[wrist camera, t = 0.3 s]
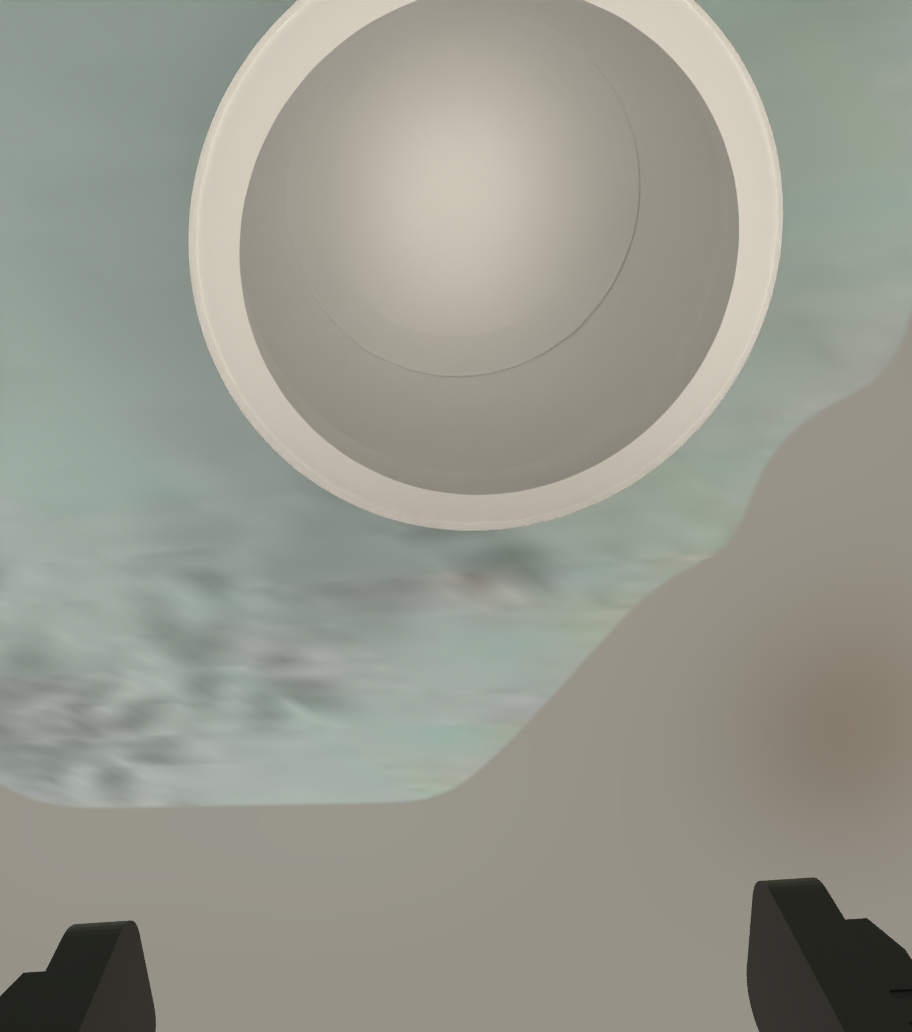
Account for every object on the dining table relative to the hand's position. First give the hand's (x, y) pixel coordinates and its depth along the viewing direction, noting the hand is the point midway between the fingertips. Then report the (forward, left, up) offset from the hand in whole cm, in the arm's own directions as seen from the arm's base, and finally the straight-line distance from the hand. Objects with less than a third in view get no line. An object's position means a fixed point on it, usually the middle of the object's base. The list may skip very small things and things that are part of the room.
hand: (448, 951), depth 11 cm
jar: (-7, -2, -23) cm, 24 cm away
